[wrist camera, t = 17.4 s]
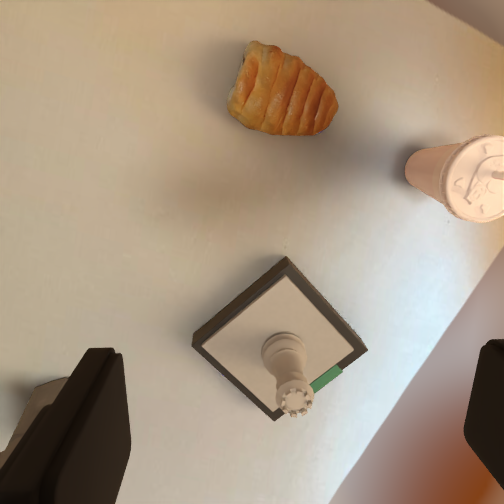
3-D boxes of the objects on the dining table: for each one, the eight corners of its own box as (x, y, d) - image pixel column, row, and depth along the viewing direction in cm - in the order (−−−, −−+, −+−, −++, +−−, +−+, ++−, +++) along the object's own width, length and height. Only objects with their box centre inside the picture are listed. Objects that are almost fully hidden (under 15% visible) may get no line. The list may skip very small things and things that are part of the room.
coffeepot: (-7, 399, 42) (-173, 586, 24) (52, 348, 40) (-79, 508, 23) (98, 478, 46) (20, 686, 28) (155, 434, 44) (110, 626, 27)
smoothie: (469, 165, 37) (604, 182, 24) (420, 214, 38) (523, 258, 25) (426, 119, 35) (545, 111, 22) (377, 172, 37) (462, 195, 23)
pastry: (344, 79, 34) (358, 73, 30) (316, 153, 36) (326, 155, 32) (245, 39, 33) (247, 28, 29) (221, 118, 34) (220, 116, 31)
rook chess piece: (254, 363, 39) (261, 419, 31) (270, 325, 38) (281, 374, 30) (295, 374, 39) (311, 432, 32) (312, 338, 38) (332, 389, 31)
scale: (360, 338, 42) (370, 353, 39) (271, 407, 44) (274, 425, 41) (286, 255, 39) (290, 265, 36) (193, 334, 41) (190, 349, 38)
